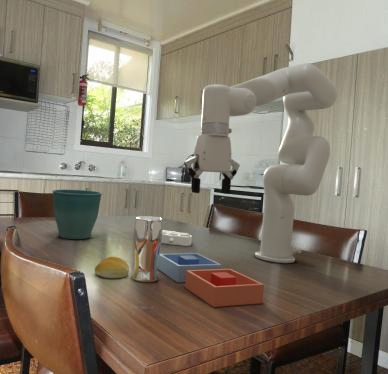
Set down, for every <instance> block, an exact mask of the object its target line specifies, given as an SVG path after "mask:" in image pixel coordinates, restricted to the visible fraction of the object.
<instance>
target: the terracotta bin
mask: <svg viewBox="0 0 388 374" xmlns="http://www.w3.org/2000/svg"><path fill="white" fill-rule="evenodd" d="M219 272H227V273H229V274H231V275H233V276H235V277H236V285H229V286H215V285H213V284H211V283H210V282H211V273H219ZM184 283H185V284H184V288H185V289H186V290H188V291H189V292H190V293H192V294H193V295H195V296H197V297H198V298H200V299H201V300H202V301H204V302H205V303H207V304H208V305H210V306H211V307H213V308H220V307H231V306H244V305H257V304H258V305H259V304H263V301H264V290H265V284H264V283H262V282H260V281H257V280H255V279H253V278H251V277H249V276H248V275H246V274H245V275H244V274H242V273H240V272H238V271H236V270H234V269H232V268H221V269H211V270H186V282H184Z"/></svg>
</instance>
